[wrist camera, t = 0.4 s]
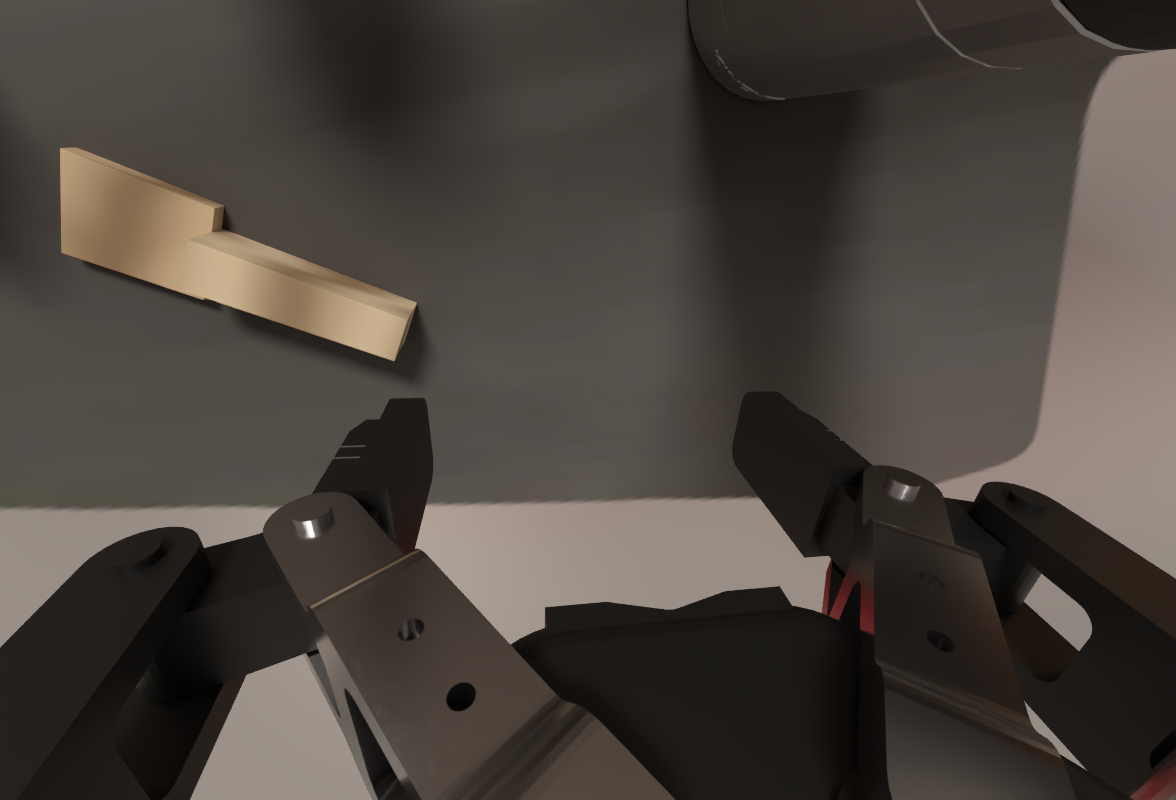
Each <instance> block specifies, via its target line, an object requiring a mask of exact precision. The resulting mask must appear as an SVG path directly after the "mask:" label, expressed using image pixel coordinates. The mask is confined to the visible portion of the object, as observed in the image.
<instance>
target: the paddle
mask: <svg viewBox="0 0 1176 800" xmlns="http://www.w3.org/2000/svg"><path fill="white" fill-rule="evenodd" d="M60 175H61V249H62V253H64V254H67V255H70V256H73V257H76V258H79V259H82V260H85V261H88V262H91V263H94V264H97V265H100V266H103V267H106V268H109V269H112V270H115V271H118V272H121V273H124V274H127V275H130V276H133V277H136V278H139V279H142V280H145V281H148V282H151V283H154V284H157V285H160V286H163V287H166V288H169V289H172V290H175V291H178V292H181V293H184V294H187V295H190V296H193V297H196V298H199V299H202V300H204V299H206V298H207V299H210V300H213V301H216V302H219V303H222V304H225V305H228V306H231V307H234V308H237V309H240V310H243V311H246V312H249V313H252V314H255V315H258V316H261V317H264V318H267V319H270V320H273V321H276V322H279V323H282V324H285V325H288V326H290V327H293V328H296V329H299V330H302V331H305V332H308V333H311V334H314V335H317V336H320V337H323V338H326V339H329V340H332V341H335V342H338V343H341V344H344V345H347V346H350V347H353V348H356V349H359V350H362V351H365V352H368V353H371V354H374V355H377V356H380V357H383V358H386V359H389V360H392V361H395V359H396V357H397V355H398V353H399V351H400V349H401V348H402V346H403V344H404V342H405V339H406V336H407V333H408V330H409V327H410V323H411V320H412V317H413V314H414V311H415V308H416V305H417V303H416V302H413V301H411V300H408V299H405V298H403V297H400V296H397V295H395V294H392V293H390V292H387V291H384V290H382V289H379V288H376V287H374V286H371V285H368V284H366V283H363V282H361V281H358V280H355V279H353V278H350V277H347V276H345V275H342V274H340V273H337V272H334V271H332V270H329V269H326V268H324V267H321V266H319V265H316V264H313V263H311V262H308V261H305V260H303V259H300V258H297V257H295V256H292V255H290V254H287V253H284V252H282V251H279V250H276V249H274V248H271V247H269V246H266V245H263V244H261V243H258V242H255V241H253V240H250V239H248V238H245V237H242V236H240V235H237V234H234V233H232V232H229V231H226V230H224V229H222V221H223V213H224V206H223V205H221V204H218V203H216V202H213V201H211V200H208V199H206V198H203V197H200V196H198V195H195V194H193V193H190V192H188V191H185V190H183V189H180V188H178V187H175V186H173V185H170V184H168V183H165V182H162V181H160V180H157V179H155V178H152V177H150V176H147V175H145V174H142V173H140V172H137V171H135V170H132V169H130V168H127V167H124V166H122V165H119V164H117V163H114V162H112V161H109V160H107V159H104V158H102V157H99V156H97V155H94V154H92V153H89V152H86V151H84V150H81V149H79V148H60Z"/></svg>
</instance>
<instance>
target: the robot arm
mask: <svg viewBox="0 0 1176 800" xmlns="http://www.w3.org/2000/svg"><path fill="white" fill-rule="evenodd" d="M688 11H689V21H690V25H691V30H692V34H693V39H694V42H695V45H696V47H697V49H698V52H699V54H700V57H701V59H702V61H703V63H704V64H705V66H706V67H707V69H708V70H709V71H710V73H711V74H712V76H713V77H714V78H715V79H716V80H717V81H718V82H719V83H720V84H721V85H723V86H724V87H725V88H726V89H727V90H728V91H730V92H732V93H734V94H737V95H739V96H741V97H743V98H746V99H751V100H757V101H770V100H785V99H788V98H796V97H804V96H815V95H823V94H831V93H839V92H847V91H854V90H862V89H870V88H878V87H886V86H893V85H901V84H909V83H917V82H924V81H932V80H940V79H948V78H956V77H963V76H971V75H979V74H987V73H995V72H1002V71H1010V70H1018V69H1023V68H1031V67H1038V66H1046V65H1054V64H1062V63H1069V62H1077V61H1085V60H1093V59H1100V58H1108V57H1116V56H1124V55H1131V54H1139V53H1147V52H1153V51H1158V50H1166V49H1176V0H688ZM732 453H733V459H734V462H735V465H736V467H737V468H738V470H739V471H740V472H741V474H742V475H743V476H744V478H745V479H746V480H747V482H748V483H749V484H750V486H751V487H752V488H753V490H754V491H755V492H756V494H757V495H758V496H759V498H760V499H761V500H762V502H763V503H764V504H765V506H766V507H767V508H768V509H769V511H770V512H771V514H772V515H773V516H774V518H775V519H776V520H777V521H778V523H779V524H780V525H781V527H782V528H783V530H784V531H785V532H786V534H787V535H788V536H789V537H790V539H791V540H792V541H793V543H794V544H795V546H796V547H797V548H798V549H799V551H800V552H801V553H802V555H803V556H804V557H816V556H830V558H831V561H830V564H829V566H828V569H827V572H826V581H825V590H824V599H823V608H822V613H819V612H816V611H813V610H810V609H805V608H801V607H797V606H792V605H791V604H790V602H789V600H788V599H787V597H786V596H785V594H784V593H783V591H782V589H781V588H780V586H778V587H767V588H757V589H745V590H734V591H725V592H722V593H719V594H716V595H714V596H711V597H708V598H706V599H703V600H700V601H697V602H694V603H691V604H689V605H686V606H683V607H680V608H677V609H674V610H664V609H657V608H649V607H641V606H633V605H626V604H618V603H610V602H600V603H589V604H578V605H567V606H555V607H546V608H545V628H544V629H541V630H538V631H535V632H533V633H531V634H529V635H527V636H525V637H523V638H521V639H519V640H517V641H516V642H514V643H512V644H511V645H510V644H509V643H508V642H507V641H506V640H505V638H503V636H502V635H500V633H499V632H498V631H497V630H496V629H495V628H494V627H493V626H492V624H491V623H490V622H489V621H488V620H487V619H486V618H485V617H484V616H483V615H482V614H481V613H480V612H479V610H478V609H477V608H476V607H475V606H474V605H473V604H472V603H471V602H470V601H469V600H468V599H467V597H465V595H464V594H463V593H462V592H461V591H460V590H459V589H458V588H457V587H456V586H455V585H454V584H453V582H452V581H451V580H450V579H449V578H448V577H447V576H446V575H445V574H444V573H443V572H442V571H441V569H440V568H439V567H438V566H437V565H436V564H435V563H434V562H433V561H432V560H431V559H430V558H429V557H428V555H426V554H425V553H424V552H423V551H422V550H420V549H415V546H416V541H417V538H418V534H419V529H420V526H421V521H422V518H423V514H424V510H425V506H426V502H427V498H428V494H429V490H430V486H431V482H432V476H433V453H432V444H431V436H430V427H429V418H428V410H427V404H426V400H425V398H394V399H390V400H389V402H388V404H387V406H386V408H385V410H384V412H383V414H382V415H381V417H380V419H376V420H365V421H364V422H363V423H361V424H360V425H358V426H357V427H355V428H354V429H353V430H351V431H350V432H349V434H348V435H347V437H346V439H345V440H344V442H343V443H342V448H339V450H338V452H337V453H336V455H335V459H333V460H332V462H331V463H330V465H329V466H328V468H327V470H326V471H325V473H324V475H323V476H322V478H321V480H320V481H319V483H318V485H317V486H316V488H315V490H314V491H313V493H312V494H311V495H307V496H304V497H301V498H298V499H296V500H294V501H291V502H290V503H288V504H286V505H284V506H283V507H281V508H280V509H278V510H277V511H276V512H275V513H273V514H272V515H271V516H270V518H269V519H268V520H267V522H266V523H265V525H264V528H263V533H260V534H257V535H254V536H250V537H246V538H243V539H238V540H234V541H230V542H227V543H223V544H219V545H215V546H211V547H207V548H204V547H203V545H202V542H201V540H200V538H199V536H198V534H197V533H196V532H195V531H193V530H191V529H188V528H184V527H165V528H157V529H153V530H149V531H145V532H141V533H138V534H135V535H132V536H130V537H127V538H124V539H122V540H120V541H118V542H116V543H114V544H112V545H110V546H108V547H106V548H104V549H103V550H102V551H100V552H98V553H96V554H95V555H94V556H92V557H91V558H89V559H88V560H87V561H86V562H85V563H84V564H83V565H82V566H81V567H80V568H78V570H77V571H76V572H75V573H74V574H73V575H72V576H71V577H70V578H69V579H68V580H67V581H66V582H65V583H64V584H63V585H62V586H61V587H60V588H59V589H58V590H57V591H56V592H55V593H54V594H53V595H52V596H51V597H50V598H49V599H48V600H47V601H46V602H45V603H44V604H43V605H42V606H41V607H40V608H39V609H38V610H37V611H36V612H35V613H34V614H33V615H32V616H31V617H30V618H29V619H28V620H27V621H26V622H25V623H24V624H23V625H22V626H21V627H20V628H19V629H18V630H17V631H16V632H15V633H14V634H13V635H12V636H11V637H10V638H9V639H8V640H7V641H6V642H5V643H4V644H3V645H2V646H1V648H0V800H190V798H191V796H192V794H193V791H194V789H195V787H196V785H197V783H198V780H199V778H200V776H201V774H202V771H203V769H204V766H205V765H206V763H207V760H208V758H209V756H210V754H211V752H212V750H213V747H214V745H215V743H216V741H217V738H218V736H219V734H220V732H221V730H222V727H223V725H224V723H225V721H226V719H227V716H228V714H229V712H230V710H231V708H232V705H233V703H234V701H235V699H236V697H237V694H238V692H239V690H240V688H241V686H242V683H243V681H244V679H245V677H246V675H247V674H250V673H252V672H255V671H258V670H261V669H263V668H266V667H269V666H272V665H274V664H277V663H280V662H283V661H285V660H288V659H291V658H294V657H296V656H299V655H302V654H304V657H305V659H306V661H307V663H308V665H309V667H310V669H311V671H312V673H313V675H314V677H315V679H316V680H317V683H318V684H319V686H320V688H321V690H322V692H323V694H324V696H325V698H326V700H327V702H328V704H329V706H330V708H331V710H332V712H333V714H334V716H335V718H336V720H337V722H338V724H339V726H340V728H341V730H342V732H343V734H344V736H345V738H346V741H347V743H348V745H349V747H350V750H351V752H352V755H353V757H354V760H355V762H356V764H357V767H358V770H359V772H360V774H361V776H362V779H363V781H364V783H365V785H366V787H367V789H368V791H369V793H370V795H371V797H372V799H373V800H1176V579H1175V578H1174V577H1172V576H1171V575H1169V574H1168V573H1166V572H1164V571H1163V570H1161V569H1160V568H1158V567H1157V566H1155V565H1154V564H1152V563H1151V562H1149V561H1147V560H1146V559H1144V558H1143V557H1141V556H1140V555H1138V554H1137V553H1135V552H1133V551H1132V550H1130V549H1129V548H1127V547H1126V546H1124V545H1123V544H1121V543H1120V542H1118V541H1117V540H1115V539H1113V538H1112V537H1110V536H1109V535H1107V534H1106V533H1104V532H1103V531H1101V530H1100V529H1098V528H1097V527H1095V526H1093V525H1092V524H1090V523H1089V522H1087V521H1086V520H1084V519H1082V518H1081V517H1080V516H1078V515H1077V514H1075V513H1073V512H1072V511H1070V510H1068V509H1067V508H1066V507H1064V506H1063V505H1061V504H1060V503H1058V502H1056V501H1055V500H1053V499H1051V498H1049V497H1047V496H1045V495H1043V494H1041V493H1039V492H1037V491H1034V490H1031V489H1029V488H1025V487H1022V486H1019V485H1015V484H1010V483H1004V482H989V483H985V484H984V485H983V486H982V487H981V490H980V491H979V493H978V495H977V497H976V499H975V501H974V502H971V501H964V500H957V499H951V498H944V497H943V495H942V493H941V491H940V490H939V489H938V488H937V487H936V486H935V485H934V484H933V483H931V482H930V481H928V480H927V479H925V478H923V477H921V476H919V475H917V474H915V473H913V472H910V471H907V470H904V469H901V468H897V467H892V466H884V465H876V466H873V465H872V464H870V463H869V462H868V461H867V460H866V459H864V458H863V457H862V456H861V455H860V454H858V453H857V452H856V451H855V450H853V449H852V448H851V447H850V446H849V445H847V444H846V443H845V442H844V441H840V438H839V437H838V436H837V435H835V434H834V433H833V432H832V431H829V429H828V428H827V427H826V426H824V425H823V424H822V423H821V422H820V421H818V420H817V419H816V418H814V417H812V416H810V415H808V414H806V413H804V412H802V411H801V410H799V409H798V408H797V407H796V406H795V405H793V404H792V403H791V402H790V401H789V400H787V399H786V398H785V397H784V396H783V395H782V394H780V393H779V392H776V391H774V392H748V393H746V394H745V396H744V397H743V400H742V404H741V408H740V413H739V417H738V422H737V427H736V431H735V436H734V440H733V446H732ZM1041 574H1043V575H1044V576H1045V577H1047V578H1048V579H1049V580H1050V581H1052V582H1053V583H1054V584H1055V585H1056V586H1058V587H1059V588H1060V589H1062V590H1063V591H1064V592H1065V593H1066V594H1067V595H1069V596H1070V597H1071V598H1072V599H1074V600H1075V601H1076V602H1077V603H1079V604H1080V605H1081V606H1082V607H1083V608H1084V610H1085V611H1086V613H1087V614H1088V616H1089V618H1090V620H1091V623H1092V634H1091V636H1090V638H1089V640H1088V641H1087V642H1086V643H1085V645H1084V646H1083V647H1082V649H1081V650H1080V651H1078V650H1077V649H1076V648H1075V647H1073V646H1072V645H1071V644H1070V643H1069V642H1068V641H1067V640H1066V639H1065V638H1064V637H1062V636H1061V635H1060V634H1059V633H1058V632H1057V631H1056V630H1055V629H1053V628H1052V627H1051V626H1050V625H1049V624H1048V623H1047V622H1045V620H1043V619H1042V618H1041V617H1040V616H1039V615H1038V614H1037V613H1036V612H1035V611H1034V610H1032V609H1031V608H1030V607H1029V606H1028V605H1027V604H1026V603H1025V602H1024V600H1025V598H1026V596H1027V595H1028V593H1029V592H1030V590H1031V589H1032V587H1033V586H1034V584H1035V583H1036V581H1037V580H1038V578H1039V577H1040V575H1041ZM1024 701H1025V702H1026V703H1027V704H1028V706H1029V707H1030V708H1031V709H1032V710H1033V711H1034V712H1035V713H1036V714H1037V715H1038V716H1039V718H1040V719H1041V720H1042V721H1043V722H1044V723H1045V724H1046V725H1047V727H1048V728H1049V729H1050V730H1051V731H1052V732H1053V733H1054V734H1055V735H1056V736H1057V738H1058V739H1059V740H1060V741H1061V742H1062V743H1063V744H1064V745H1065V746H1066V748H1067V749H1068V750H1069V751H1070V752H1071V753H1072V754H1073V755H1074V756H1075V757H1076V759H1077V760H1079V762H1080V763H1081V764H1082V765H1083V766H1084V767H1085V769H1086V770H1087V771H1086V770H1085V769H1083V768H1081V767H1080V766H1078V765H1077V764H1075V763H1073V762H1072V761H1070V760H1068V759H1067V758H1065V757H1064V756H1062V755H1060V754H1059V752H1058V750H1057V749H1056V748H1055V746H1054V745H1053V744H1052V743H1051V742H1050V741H1049V740H1048V739H1047V738H1045V737H1043V736H1042V735H1040V734H1039V733H1038V732H1037V731H1036V730H1035V729H1034V727H1033V726H1032V724H1031V721H1030V719H1029V716H1028V713H1027V709H1026V706H1025V702H1024Z"/></svg>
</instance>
